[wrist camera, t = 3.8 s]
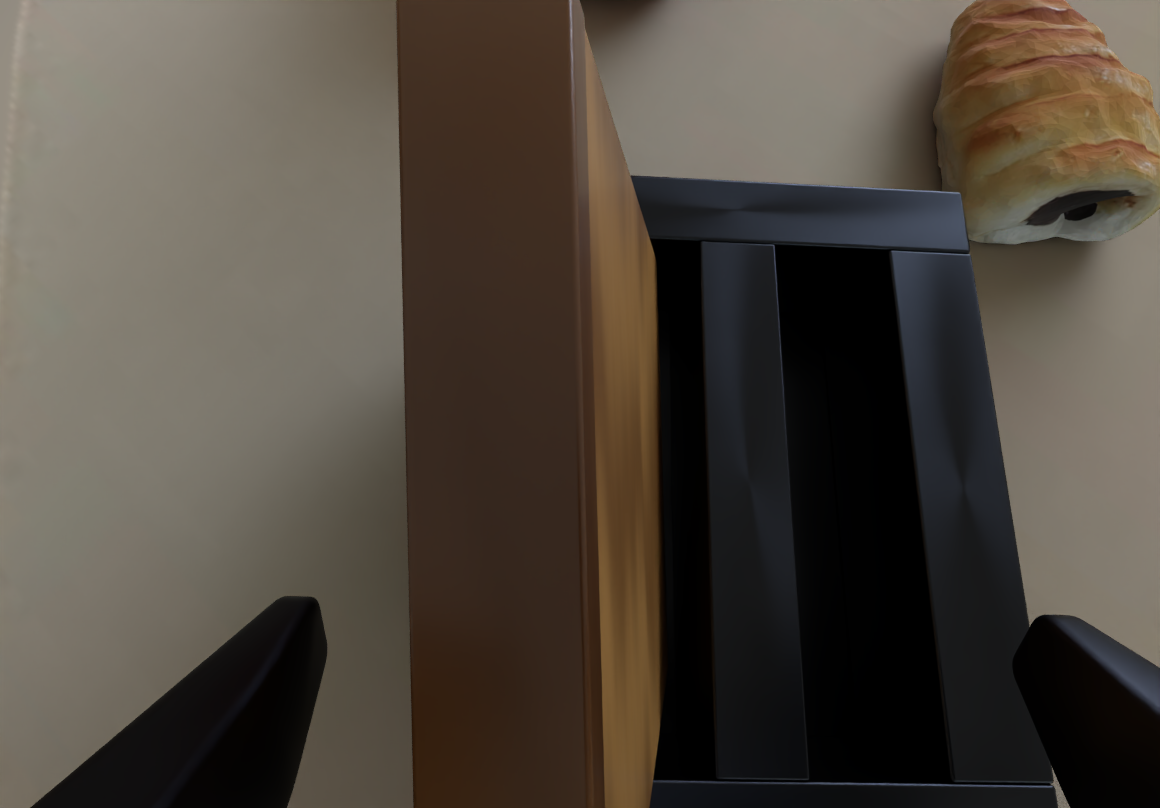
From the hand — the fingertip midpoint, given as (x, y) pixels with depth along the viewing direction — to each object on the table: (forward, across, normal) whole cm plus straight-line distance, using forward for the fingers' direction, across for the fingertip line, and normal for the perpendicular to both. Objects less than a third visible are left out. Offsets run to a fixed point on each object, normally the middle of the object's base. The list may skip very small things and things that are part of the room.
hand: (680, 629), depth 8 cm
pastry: (+18, -14, -4) cm, 23 cm away
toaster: (+9, -2, +6) cm, 11 cm away
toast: (+6, 0, +2) cm, 6 cm away
